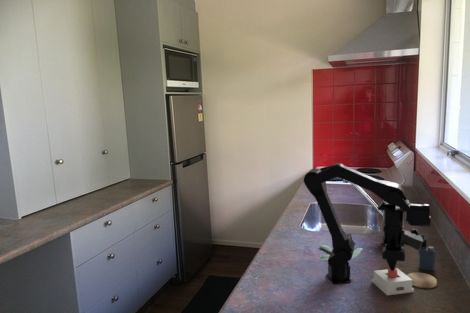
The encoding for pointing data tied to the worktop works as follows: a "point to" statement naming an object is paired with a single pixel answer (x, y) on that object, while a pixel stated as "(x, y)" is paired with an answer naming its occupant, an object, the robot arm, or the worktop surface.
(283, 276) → the worktop surface
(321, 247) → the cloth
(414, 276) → the coaster
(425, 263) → the vaping device
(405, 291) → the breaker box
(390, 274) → the button
